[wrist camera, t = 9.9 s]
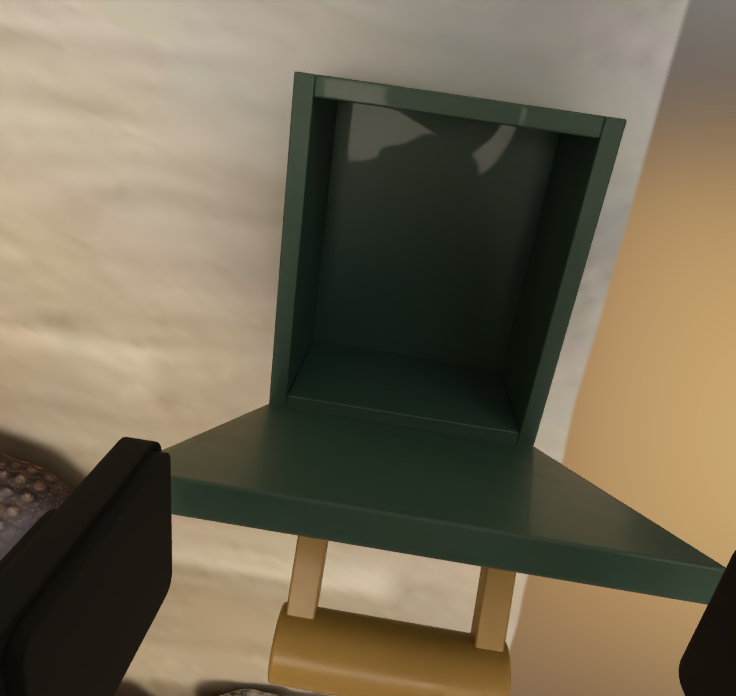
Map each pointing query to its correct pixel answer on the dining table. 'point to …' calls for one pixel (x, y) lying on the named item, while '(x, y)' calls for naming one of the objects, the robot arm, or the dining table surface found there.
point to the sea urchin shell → (25, 498)
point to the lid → (417, 539)
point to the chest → (432, 254)
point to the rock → (248, 693)
